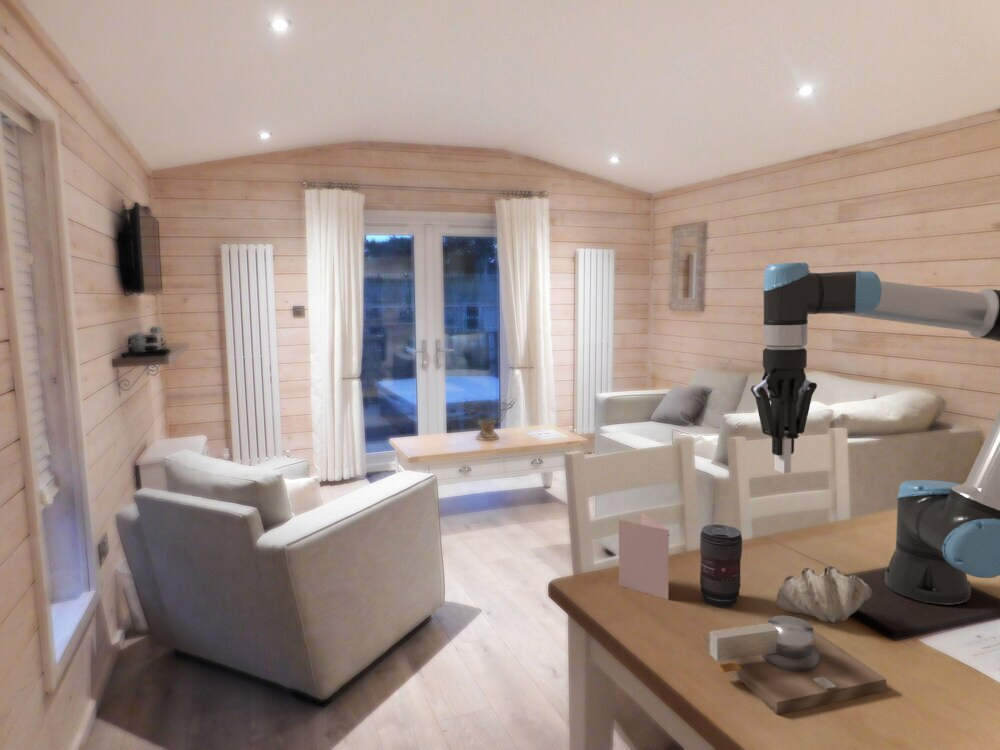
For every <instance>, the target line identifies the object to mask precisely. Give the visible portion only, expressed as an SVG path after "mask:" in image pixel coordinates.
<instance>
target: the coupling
mask: <svg viewBox="0 0 1000 750" xmlns="http://www.w3.org/2000/svg"><path fill="white" fill-rule="evenodd" d="M813 629H814V627H813V625H812V624H810V623H809V622H808V621H806V620H804V619H802V618H799V617H795V616H791V615H775V616H771V617H770V618H768V620H767V623H759V624H752V625H745V626H739V627H736V626H735V627H729V628H724V629H715V630H710V631H709V636H710V652H709V655H710V656H711V657H712V658H713V659H714V660H715V661H716V662H719V661H725V660H732V659H738V658H745V657H752V656H759V655H765V654H772V653H778V654H780V655H783V656H787V657H792V658H803V657H807V656H809V655H811V654H812V651H813Z"/></svg>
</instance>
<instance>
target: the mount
mask: <svg viewBox="0 0 1000 750" xmlns="http://www.w3.org/2000/svg"><path fill="white" fill-rule="evenodd" d="M703 648H704V649H705V650H706V651H708V652H709V653H710V635H706V636H705V635H704V636H703ZM718 662H719V663H720V664H717V669H719V670H720V671H721V672H722V673H731V672H732V673H733V674H732V673H731V674H732V675H734V676H735V678H736V679H738V680H739V681H740V682H741V683H742V682H743V683H744V684H745V685H746V686H747V687H746V686H745V685H744V684H743V683H742V684H743V685H744V686H745V687H746V688H747V689H749V691H751V692H752V693H753V694H754V695H755V696H756V697H757V698H758V699H759V698H760V699H761V700H760V699H759V700H760V701H761V702H762V703H763V704H765V705H766V706H767V707H768V708H769V709H770V710H771V711H772V712H773V711H774V712H773V713H775V715H781V714H786V713H789V711H790V712H795V711H798V710H799V709H800V710H804V709H807V708H812V707H818V706H822V705H823V706H824V705H827V704H832V703H836V702H841V701H844V700H845V701H846V700H849V699H854V698H859V697H863V696H869V695H873V694H878V693H883V692H886V691H887V679H886V678H885V677H884V676H883V675H881V674H879V673H878V672H877V671H875V670H874V669H872V668H871V667H869V666H867V665H866V664H865V663H864V662H862V661H860V660H859V659H858V658H856V657H854V656H853V655H852V654H850V653H848V651H846V650H844V649H842V648H841V647H840V646H838V645H837V644H836V643H834V642H833V641H831V640H830V639H829V638H827V637H826V636H824V635H823V634H821V633H819V632H818V631H817V630H815V629H814V628H813V651H812V654H811V655H809V656H807V657H803V658H792V657H787V656H783V655H780V654H778V653H772V654H765V655H759V656H752V657H745V658H738V659H732V660H725V661H718ZM730 671H731V672H730Z"/></svg>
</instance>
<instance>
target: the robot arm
mask: <svg viewBox="0 0 1000 750" xmlns="http://www.w3.org/2000/svg"><path fill="white" fill-rule="evenodd" d="M763 275H764V276H763V288H762V291H763V293H762V294H763V324H762V329H763V330H762V333H763V334H762V344H763V346H764V348H763V350H762V367H763V369H764V370H763V371H764V372H763V376H762V379H761V382H760V383H759V384H757V385H752V386H751V387H750V391H751V392H752V395H753V396H754V398H755V402H756V407H757V412H758V416H759V421H760V426H761V432H762V434H764V435H766V436H769V437H771V452H772V454H773V455H774V471H777V472H780V473H782V474H790V473H791V472H792V455H793V454H794V452H795V439H799V436H800V435H799V434H803V433H804V432H805V429H806V424H807V420H808V415H809V411H810V407H811V403H812V402H811V401H812V397H813V395H814V393H815V391H816V389H817V386H818V384H817V383H816V382H812V381H810V380H808V379H807V375H806V373H805V372H806V371H805V369H806V368H807V361H808V359H807V357H808V350H807V349H806V348H804V346H807V344H808V317H809V315H819V314H822V315H823V314H827V315H828V314H832V315H833V314H834V315H844V316H845V315H846V316H850V317H851V316H852V317H860V318H867V319H875V320H882V321H889V322H898V323H906V324H914V325H920V326H928V327H935V328H943V329H951V330H957V331H958V330H959V331H966V332H967V333H969V335H970V336H972V337H973V338H979V339H986V340H987V339H988V340H990V341H995V342H999V343H1000V289H991V288H984V289H983V288H982V289H981V290H979V291H978V292H973V291H964V290H956V289H947V288H940V287H933V286H925V285H924V286H923V285H915V284H907V283H900V282H893V281H892V282H891V281H885V280H884V281H883V280H881V279H880V277H879V275H878V274H877V273H876V272H874V271H872V270H869V271H866V270H864V271H862V270H861V271H860V270H855V271H854V270H853V271H834V272H818V273H817V272H810V270H809V264H808V263H807V262H780V263H772V264H769V265H768V266H766V267H765V269H764V274H763ZM896 499H897V512H896V515H897V517H896V535H895V537H896V538H895V539H896V541H895V551H894V552H893V554H892V557H891V558H890V561H889V564H888V566H887V568H886V570H885V572H884V584H885V583H886V584H885V586H886V585H887V586H888V587H889V588H890V589H891V590H890V589H889V588H888V587H887V586H886V587H887V588H888V589H889V590H890V591H892V590H893V591H895V592H897V593H899V594H902V595H905V596H907V597H911V598H914V599H918V600H922V601H928V602H935V603H956V602H961V601H965V600H967V599H969V598H970V596H971V597H972V586H971V582H970V581H969V580H968V576H971V577H974V578H979V579H993V578H996V577H999V576H1000V409H999V410H998V412H997V414H996V416H995V418H994V421H993V423H992V425H991V427H990V428H989V432H988V434H987V436H986V438H985V440H984V442H983V444H982V447H981V449H980V451H979V453H978V455H977V457H976V459H975V461H974V463H973V466H972V467H971V469H970V472H969V473H968V476H967V477H966V480H965V481H964V482H963V483H962V484H960V483H957V482H951V481H945V480H930V479H929V480H928V479H913V480H905V481H903V482H902V483H900V485H899V487H898V494H897V496H896ZM967 575H968V576H967ZM893 591H892V592H893ZM895 592H894V593H895ZM897 593H896V594H897ZM899 594H898V595H899ZM970 599H971V598H970Z"/></svg>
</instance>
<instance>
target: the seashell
mask: <svg viewBox="0 0 1000 750" xmlns="http://www.w3.org/2000/svg"><path fill="white" fill-rule="evenodd" d="M872 596H873V589H871V587H870V586H869V584H868V583H866V582H865V581H864V580H863V579H862V578H860V577H859V576H858V575H856V574H851V575H850V576H845V575H843V574H842V573H841V570H840V569H839V568H837V567H835V566H833V565H828V566H826V567H825V568H824V569H823V573H822V574H818V573H816V572H815V570H814V569H813V568H809V567H805V568H803V569H802V570H801V576H800V577H799V578H798V577H796V576H794V575H788V576H787V577H785V579H784V582H783V583H782V585H781V587H780V588H779V589H778V592H777V595H776V603H777V605H778V607H779V608H780V609H782V610H785V611H786V612H788V613H795V614H803V615H809V616H811V617H815V618H817V619H819V620H821V621H822V622H826V623H828V622H832V623H833V624H835V623H836V622H837V621H840V622H845V621H846V620H848V619H849V617H850V616H851V615H853V614H855V613H856V611H858V610H859V608H860V607H861V606H862V605H863V603H865V601H867V600H869V599H870V598H871V597H872Z"/></svg>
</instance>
